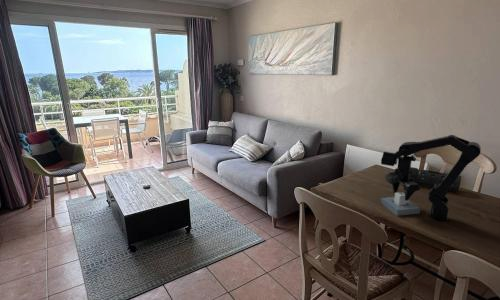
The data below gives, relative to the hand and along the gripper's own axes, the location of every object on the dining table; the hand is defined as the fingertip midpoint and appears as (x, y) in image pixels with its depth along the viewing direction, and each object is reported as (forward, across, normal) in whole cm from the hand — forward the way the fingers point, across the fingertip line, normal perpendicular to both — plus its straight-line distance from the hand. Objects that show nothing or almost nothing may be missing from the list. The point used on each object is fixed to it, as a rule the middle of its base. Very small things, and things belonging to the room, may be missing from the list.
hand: (400, 196), depth 143 cm
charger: (+6, 0, 0) cm, 7 cm away
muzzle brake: (+7, -22, +34) cm, 41 cm away
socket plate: (+6, 0, 0) cm, 7 cm away
